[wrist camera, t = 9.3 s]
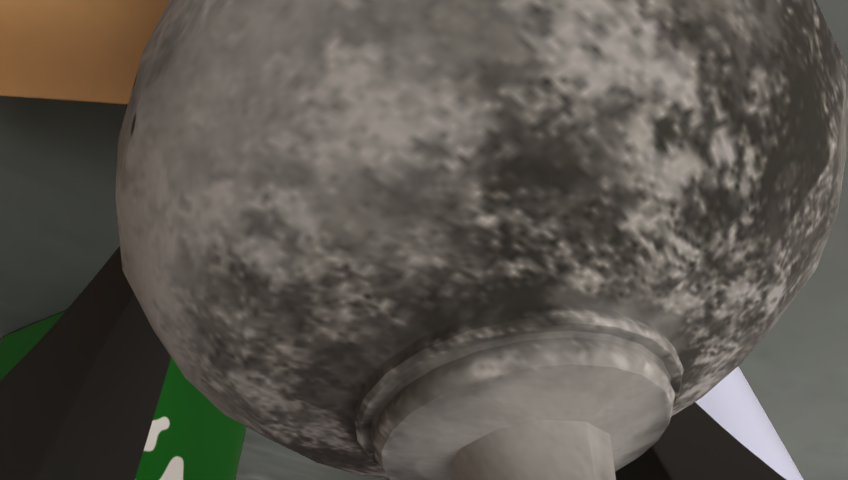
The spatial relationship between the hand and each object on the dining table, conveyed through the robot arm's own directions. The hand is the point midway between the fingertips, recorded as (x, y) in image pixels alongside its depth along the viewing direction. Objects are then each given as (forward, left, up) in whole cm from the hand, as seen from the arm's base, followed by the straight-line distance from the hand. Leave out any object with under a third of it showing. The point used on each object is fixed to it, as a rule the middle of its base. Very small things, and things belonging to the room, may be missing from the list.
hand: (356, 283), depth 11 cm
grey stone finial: (+7, 0, -5) cm, 8 cm away
